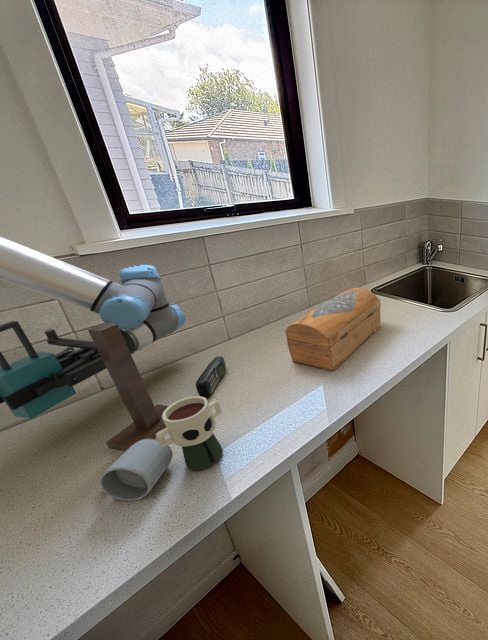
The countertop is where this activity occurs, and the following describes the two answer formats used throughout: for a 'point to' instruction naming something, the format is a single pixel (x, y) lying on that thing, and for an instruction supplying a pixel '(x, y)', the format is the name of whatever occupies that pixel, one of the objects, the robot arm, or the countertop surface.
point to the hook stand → (121, 383)
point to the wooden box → (334, 329)
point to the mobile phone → (211, 377)
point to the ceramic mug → (136, 470)
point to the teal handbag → (30, 376)
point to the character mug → (192, 430)
